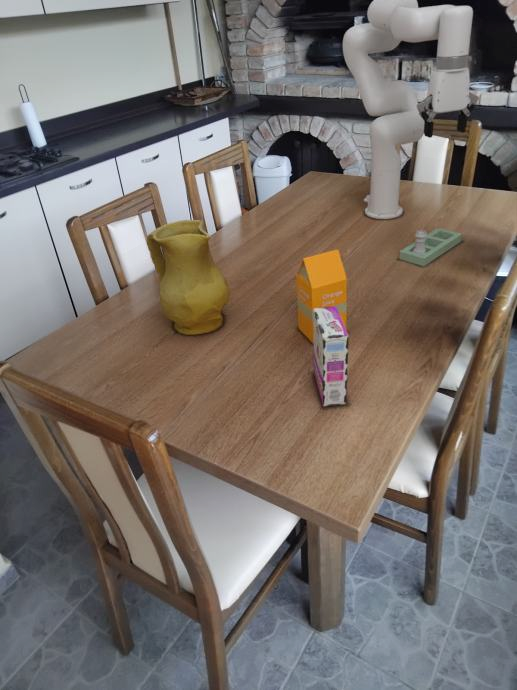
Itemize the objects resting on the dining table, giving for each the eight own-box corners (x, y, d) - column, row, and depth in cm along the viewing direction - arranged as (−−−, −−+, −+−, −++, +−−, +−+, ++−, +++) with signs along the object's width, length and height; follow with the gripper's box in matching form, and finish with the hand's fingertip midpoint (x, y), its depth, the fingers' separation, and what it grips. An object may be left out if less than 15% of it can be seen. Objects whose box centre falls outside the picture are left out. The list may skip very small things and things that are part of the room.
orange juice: (298, 328, 130) (294, 252, 119) (330, 318, 132) (329, 242, 121) (313, 344, 124) (311, 265, 113) (346, 333, 126) (348, 255, 115)
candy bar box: (348, 405, 106) (349, 335, 97) (323, 407, 106) (322, 338, 96) (336, 370, 115) (337, 304, 106) (313, 373, 115) (311, 307, 106)
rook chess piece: (427, 261, 153) (430, 235, 149) (410, 261, 154) (413, 234, 150) (426, 254, 157) (429, 228, 152) (410, 254, 158) (412, 228, 153)
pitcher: (178, 348, 126) (160, 246, 113) (154, 317, 141) (136, 224, 128) (244, 327, 132) (234, 229, 119) (214, 300, 147) (203, 209, 134)
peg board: (399, 259, 156) (399, 251, 155) (437, 235, 167) (438, 227, 166) (423, 266, 151) (424, 258, 150) (461, 241, 162) (462, 233, 161)
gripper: (474, 58, 141) (465, 127, 151) (413, 66, 138) (408, 135, 148) (491, 60, 135) (481, 132, 144) (427, 69, 132) (422, 141, 142)
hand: (444, 134), depth 146 cm, fingers open, 9 cm apart
